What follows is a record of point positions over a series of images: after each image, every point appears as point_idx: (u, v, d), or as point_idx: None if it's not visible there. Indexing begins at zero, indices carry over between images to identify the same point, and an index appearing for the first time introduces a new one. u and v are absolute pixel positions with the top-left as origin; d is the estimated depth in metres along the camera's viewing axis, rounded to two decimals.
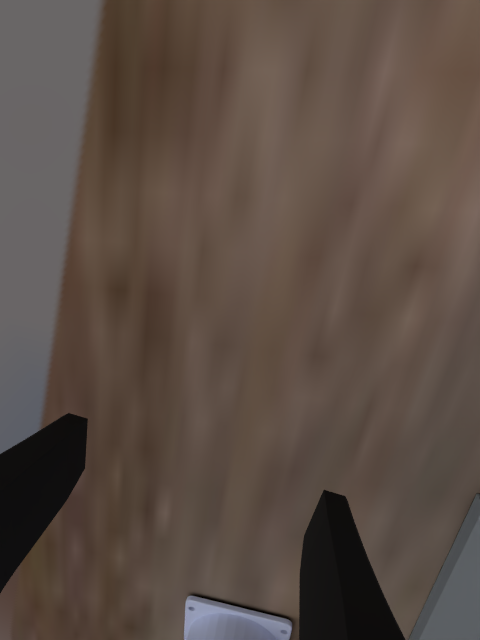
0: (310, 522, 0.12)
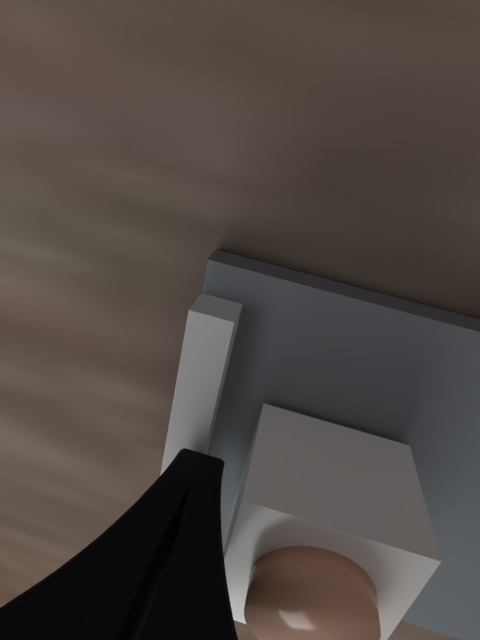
0: None
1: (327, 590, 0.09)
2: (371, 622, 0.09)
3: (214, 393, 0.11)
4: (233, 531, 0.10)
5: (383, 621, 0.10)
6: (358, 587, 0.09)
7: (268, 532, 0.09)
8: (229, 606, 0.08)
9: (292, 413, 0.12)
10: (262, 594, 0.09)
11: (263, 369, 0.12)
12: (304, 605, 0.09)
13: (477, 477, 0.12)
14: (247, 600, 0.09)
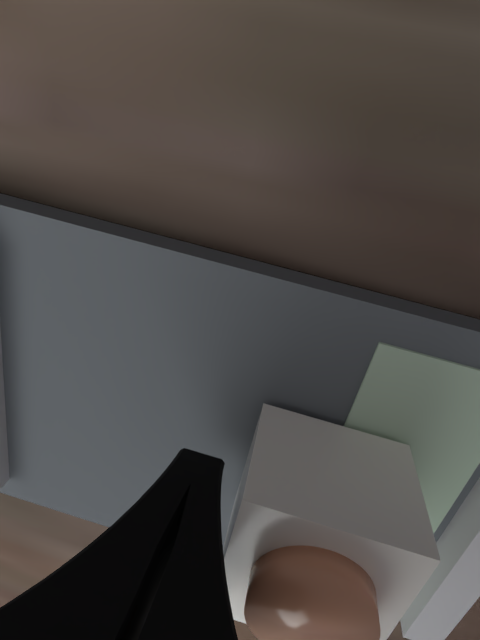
0: None
1: (327, 589, 0.09)
2: (370, 620, 0.09)
3: None
4: (233, 531, 0.10)
5: (383, 620, 0.10)
6: (358, 586, 0.09)
7: (268, 532, 0.09)
8: (229, 606, 0.08)
9: (292, 413, 0.12)
10: (262, 593, 0.09)
11: (29, 303, 0.13)
12: (303, 604, 0.09)
13: (238, 408, 0.13)
14: (247, 599, 0.09)
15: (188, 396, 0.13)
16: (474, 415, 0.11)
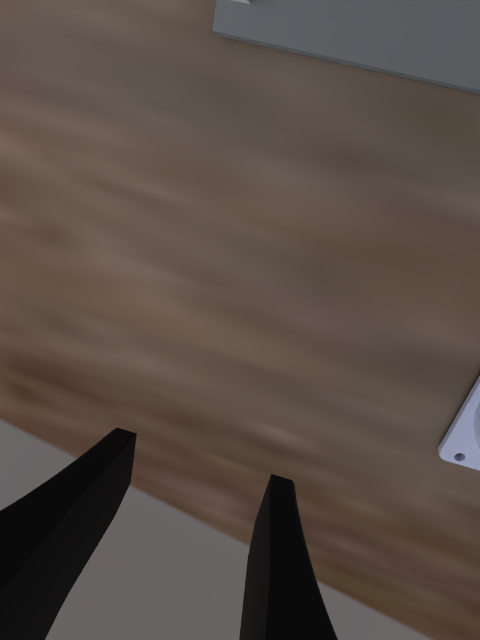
0: (260, 506, 0.12)
1: None
2: None
3: None
4: None
5: None
6: None
7: None
8: None
9: None
10: None
11: None
12: None
13: None
14: None
15: None
16: None
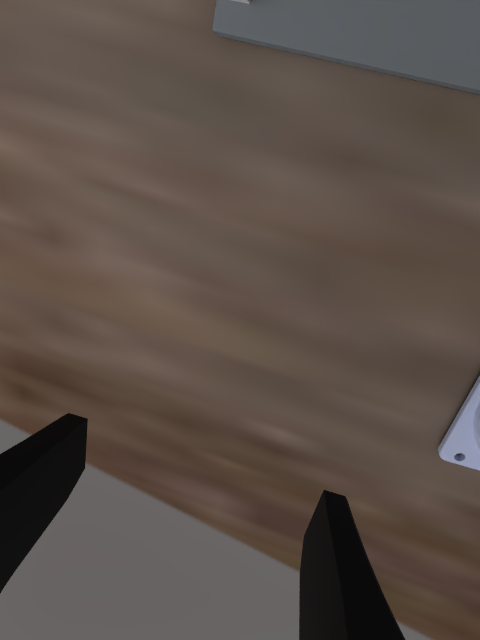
0: (310, 522, 0.12)
1: None
2: None
3: None
4: None
5: None
6: None
7: None
8: None
9: None
10: None
11: None
12: None
13: None
14: None
15: None
16: None
